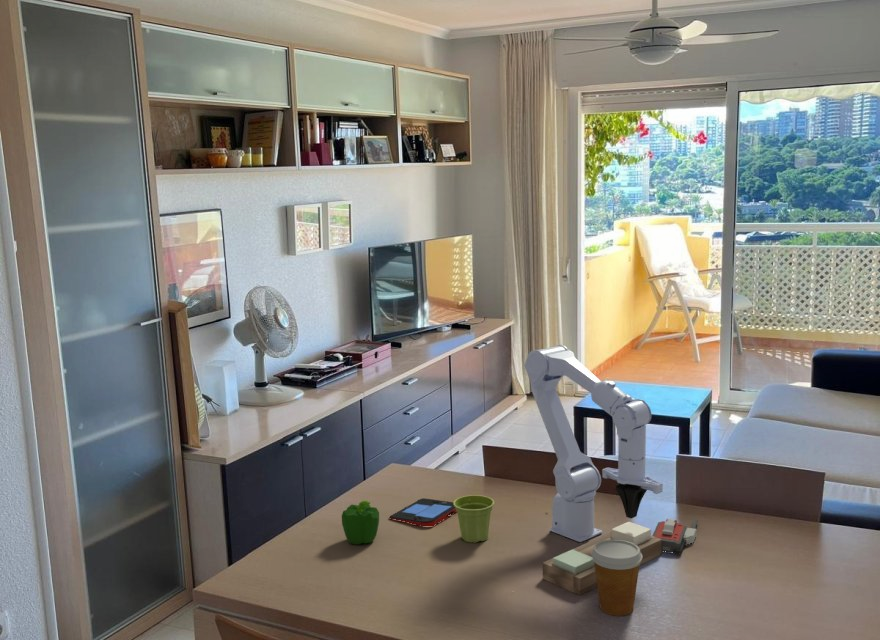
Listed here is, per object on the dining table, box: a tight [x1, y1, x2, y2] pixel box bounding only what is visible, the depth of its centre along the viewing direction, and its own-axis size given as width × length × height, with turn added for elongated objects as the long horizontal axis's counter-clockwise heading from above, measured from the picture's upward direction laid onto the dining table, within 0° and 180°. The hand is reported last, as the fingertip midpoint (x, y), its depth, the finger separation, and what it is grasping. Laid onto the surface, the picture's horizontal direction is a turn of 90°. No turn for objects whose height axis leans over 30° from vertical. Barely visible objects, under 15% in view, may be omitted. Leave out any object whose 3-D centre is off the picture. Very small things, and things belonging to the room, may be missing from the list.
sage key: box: [552, 548, 595, 575], centre depth 176 cm, size 6×6×3 cm
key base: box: [541, 531, 662, 596], centre depth 182 cm, size 10×27×4 cm, turn 131°
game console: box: [389, 497, 457, 527], centre depth 214 cm, size 14×13×2 cm
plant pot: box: [452, 494, 495, 544], centre depth 198 cm, size 9×9×9 cm
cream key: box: [611, 521, 652, 545], centre depth 188 cm, size 6×6×3 cm
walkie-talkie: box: [652, 517, 699, 555], centre depth 195 cm, size 9×4×20 cm
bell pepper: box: [341, 500, 380, 545], centre depth 198 cm, size 8×8×10 cm
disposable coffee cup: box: [591, 540, 643, 617], centre depth 164 cm, size 10×10×12 cm
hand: (631, 516), depth 187 cm, fingers closed
